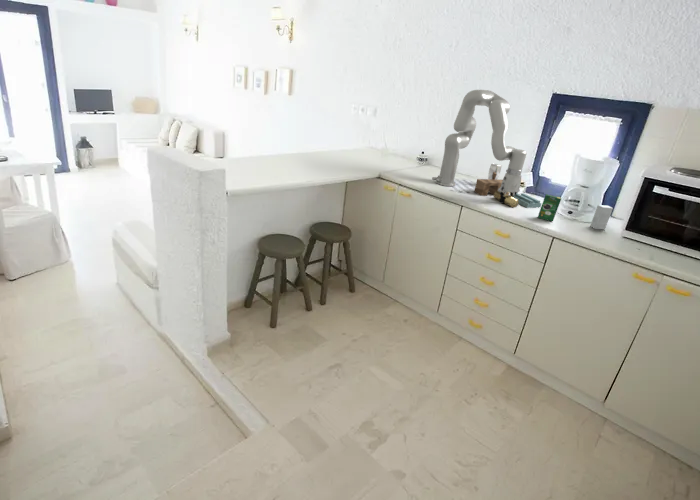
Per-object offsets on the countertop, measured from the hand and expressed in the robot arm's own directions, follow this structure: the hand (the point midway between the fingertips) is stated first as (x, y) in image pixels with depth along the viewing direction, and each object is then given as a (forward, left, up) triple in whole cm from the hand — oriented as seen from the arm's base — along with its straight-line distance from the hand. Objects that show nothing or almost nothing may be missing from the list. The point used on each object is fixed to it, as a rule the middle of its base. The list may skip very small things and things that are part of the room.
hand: (505, 202), depth 239 cm
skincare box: (+29, -39, -1) cm, 49 cm away
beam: (+3, +17, -1) cm, 17 cm away
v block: (+14, -1, -1) cm, 14 cm away
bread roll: (0, 0, -1) cm, 1 cm away
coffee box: (+6, -26, -1) cm, 27 cm away
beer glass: (+12, +30, -1) cm, 32 cm away
